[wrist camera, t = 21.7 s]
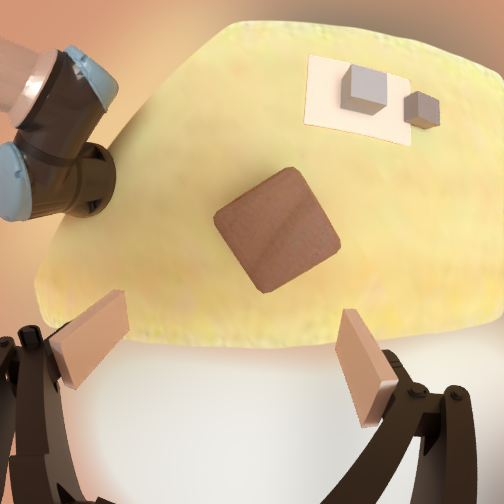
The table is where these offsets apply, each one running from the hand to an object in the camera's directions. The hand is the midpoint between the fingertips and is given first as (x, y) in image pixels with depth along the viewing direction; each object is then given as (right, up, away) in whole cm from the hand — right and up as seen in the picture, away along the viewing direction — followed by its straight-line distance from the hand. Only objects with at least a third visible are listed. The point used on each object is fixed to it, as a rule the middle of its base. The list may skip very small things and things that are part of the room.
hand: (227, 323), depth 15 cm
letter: (+21, +31, +25) cm, 45 cm away
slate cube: (+20, +31, +24) cm, 44 cm away
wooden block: (+5, +10, +31) cm, 33 cm away
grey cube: (+31, +30, +24) cm, 49 cm away
